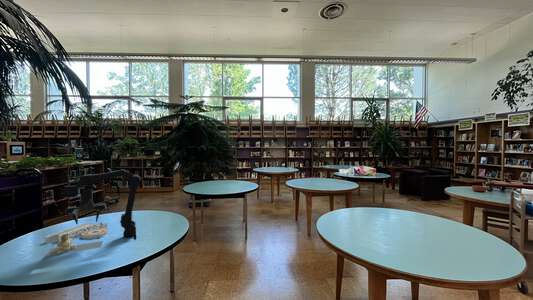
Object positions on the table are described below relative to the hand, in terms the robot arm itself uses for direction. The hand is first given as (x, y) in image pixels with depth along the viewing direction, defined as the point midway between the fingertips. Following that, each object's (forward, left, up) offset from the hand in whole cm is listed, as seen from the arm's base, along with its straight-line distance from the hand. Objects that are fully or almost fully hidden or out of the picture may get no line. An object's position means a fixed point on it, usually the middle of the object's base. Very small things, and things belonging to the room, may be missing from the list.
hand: (86, 223), depth 142 cm
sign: (+3, -18, -14) cm, 23 cm away
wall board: (+4, +6, -13) cm, 15 cm away
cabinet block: (+9, +7, -12) cm, 16 cm away
